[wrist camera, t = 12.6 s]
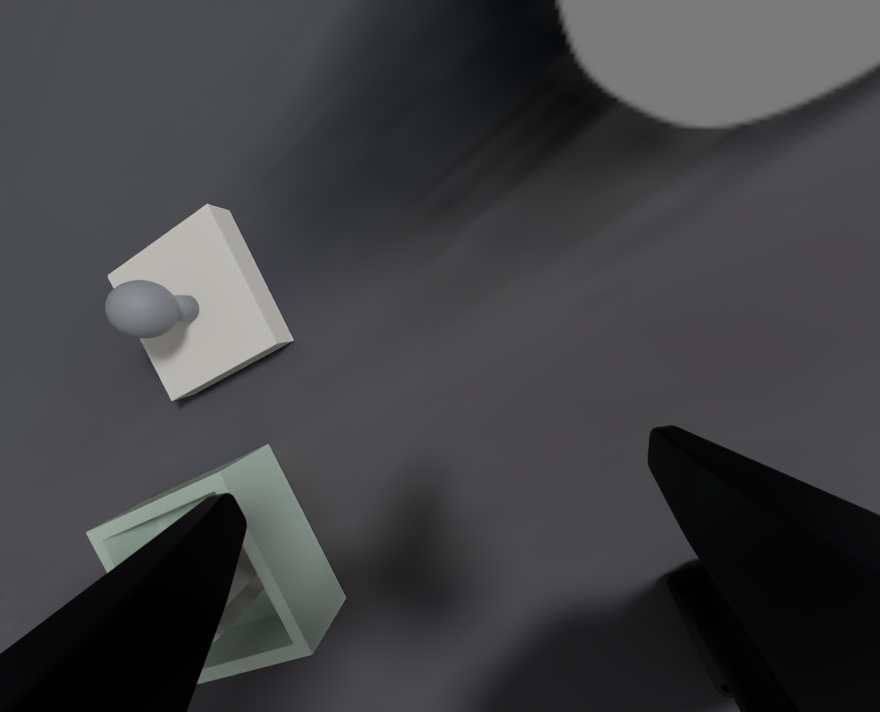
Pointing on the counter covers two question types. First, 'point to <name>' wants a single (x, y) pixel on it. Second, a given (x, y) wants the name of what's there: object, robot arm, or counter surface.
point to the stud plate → (197, 303)
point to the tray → (269, 549)
